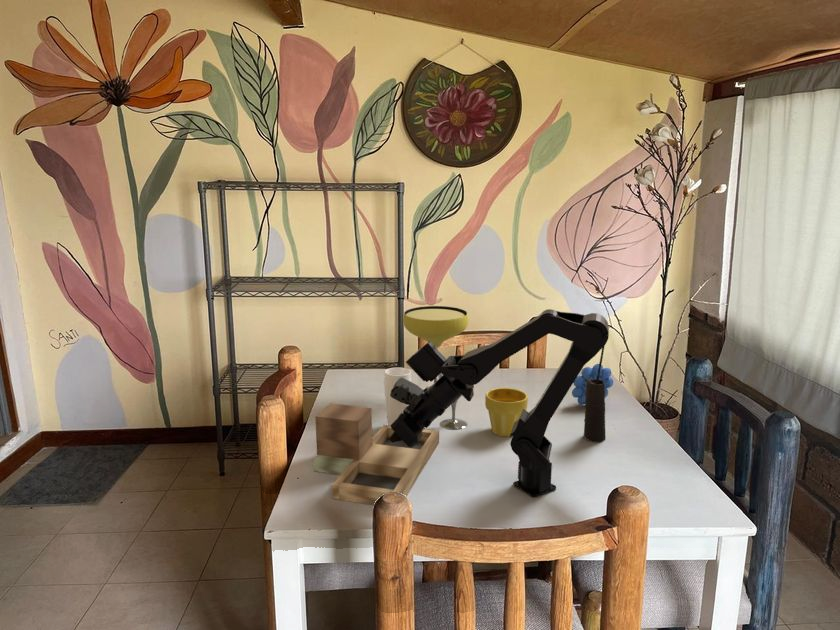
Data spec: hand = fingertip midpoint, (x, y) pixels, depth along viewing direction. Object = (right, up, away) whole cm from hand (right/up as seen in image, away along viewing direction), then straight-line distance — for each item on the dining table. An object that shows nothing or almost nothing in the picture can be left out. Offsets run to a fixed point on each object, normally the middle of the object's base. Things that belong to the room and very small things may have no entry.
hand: (391, 440), depth 140 cm
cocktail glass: (+11, +3, +44) cm, 45 cm away
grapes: (+54, +2, +39) cm, 67 cm away
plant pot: (+28, -2, +21) cm, 35 cm away
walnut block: (-10, -3, +4) cm, 11 cm away
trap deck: (-5, -6, +3) cm, 8 cm away
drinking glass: (+1, -1, +23) cm, 23 cm away
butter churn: (+48, -3, +18) cm, 51 cm away
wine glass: (+15, -1, +25) cm, 29 cm away
